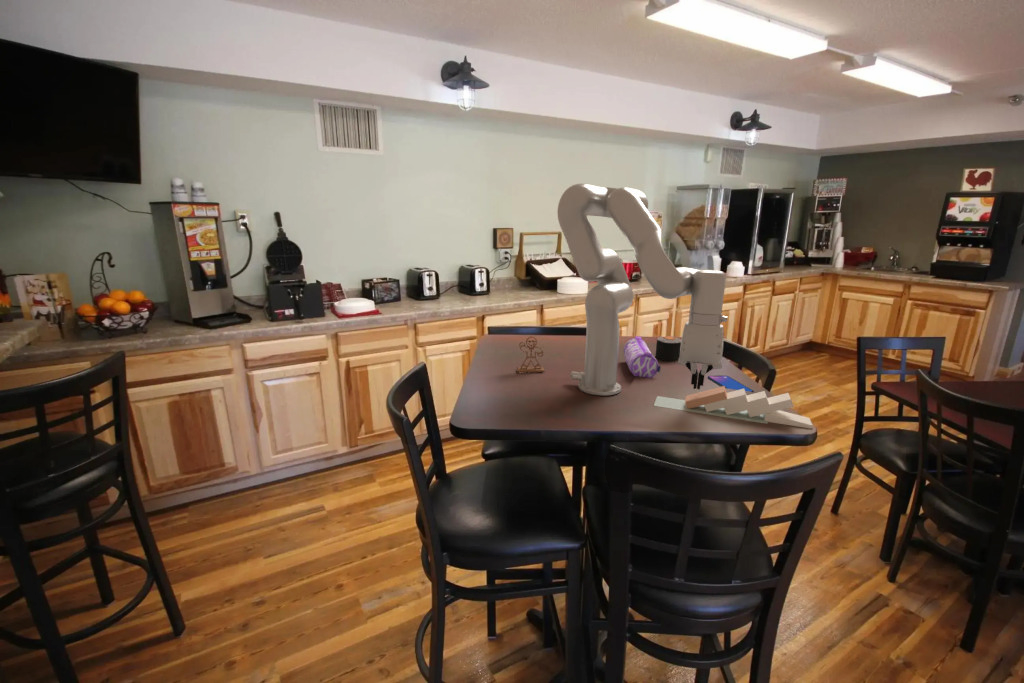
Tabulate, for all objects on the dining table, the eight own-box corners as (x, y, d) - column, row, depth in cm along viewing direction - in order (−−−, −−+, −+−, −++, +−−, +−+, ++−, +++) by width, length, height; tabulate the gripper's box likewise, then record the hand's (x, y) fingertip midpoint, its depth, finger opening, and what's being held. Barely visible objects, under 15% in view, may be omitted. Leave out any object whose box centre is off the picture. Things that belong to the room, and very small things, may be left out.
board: (653, 409, 124) (653, 405, 124) (657, 400, 131) (657, 396, 131) (767, 428, 114) (767, 423, 114) (764, 416, 121) (765, 412, 121)
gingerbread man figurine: (543, 369, 158) (544, 335, 155) (544, 373, 154) (545, 338, 151) (517, 369, 157) (517, 335, 154) (518, 373, 154) (518, 338, 151)
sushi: (651, 356, 176) (653, 336, 174) (668, 354, 179) (670, 334, 177) (666, 362, 169) (668, 341, 167) (683, 359, 172) (686, 338, 170)
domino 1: (684, 402, 122) (724, 391, 117) (686, 395, 126) (724, 385, 122) (687, 408, 122) (727, 398, 118) (688, 402, 127) (727, 392, 122)
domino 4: (746, 410, 116) (790, 399, 112) (746, 403, 121) (788, 392, 116) (749, 417, 116) (793, 406, 112) (748, 410, 121) (791, 400, 116)
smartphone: (732, 392, 138) (706, 375, 152) (732, 395, 138) (705, 378, 152) (755, 391, 139) (727, 375, 153) (755, 394, 139) (726, 377, 153)
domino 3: (724, 407, 118) (766, 397, 114) (723, 401, 123) (764, 390, 118) (726, 415, 118) (769, 404, 114) (726, 408, 123) (767, 398, 118)
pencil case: (659, 381, 148) (662, 352, 146) (630, 380, 149) (632, 351, 146) (645, 361, 170) (647, 336, 167) (619, 360, 170) (621, 335, 168)
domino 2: (704, 404, 120) (744, 394, 116) (704, 398, 125) (744, 388, 120) (706, 411, 120) (747, 401, 116) (707, 405, 125) (746, 395, 120)
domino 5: (766, 413, 115) (812, 425, 111) (765, 406, 119) (809, 417, 115) (764, 420, 115) (810, 432, 112) (762, 413, 120) (806, 425, 116)
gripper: (736, 319, 118) (727, 387, 123) (675, 314, 124) (668, 379, 129) (737, 324, 112) (727, 396, 116) (672, 319, 118) (665, 387, 122)
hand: (696, 387), depth 122 cm, fingers closed
